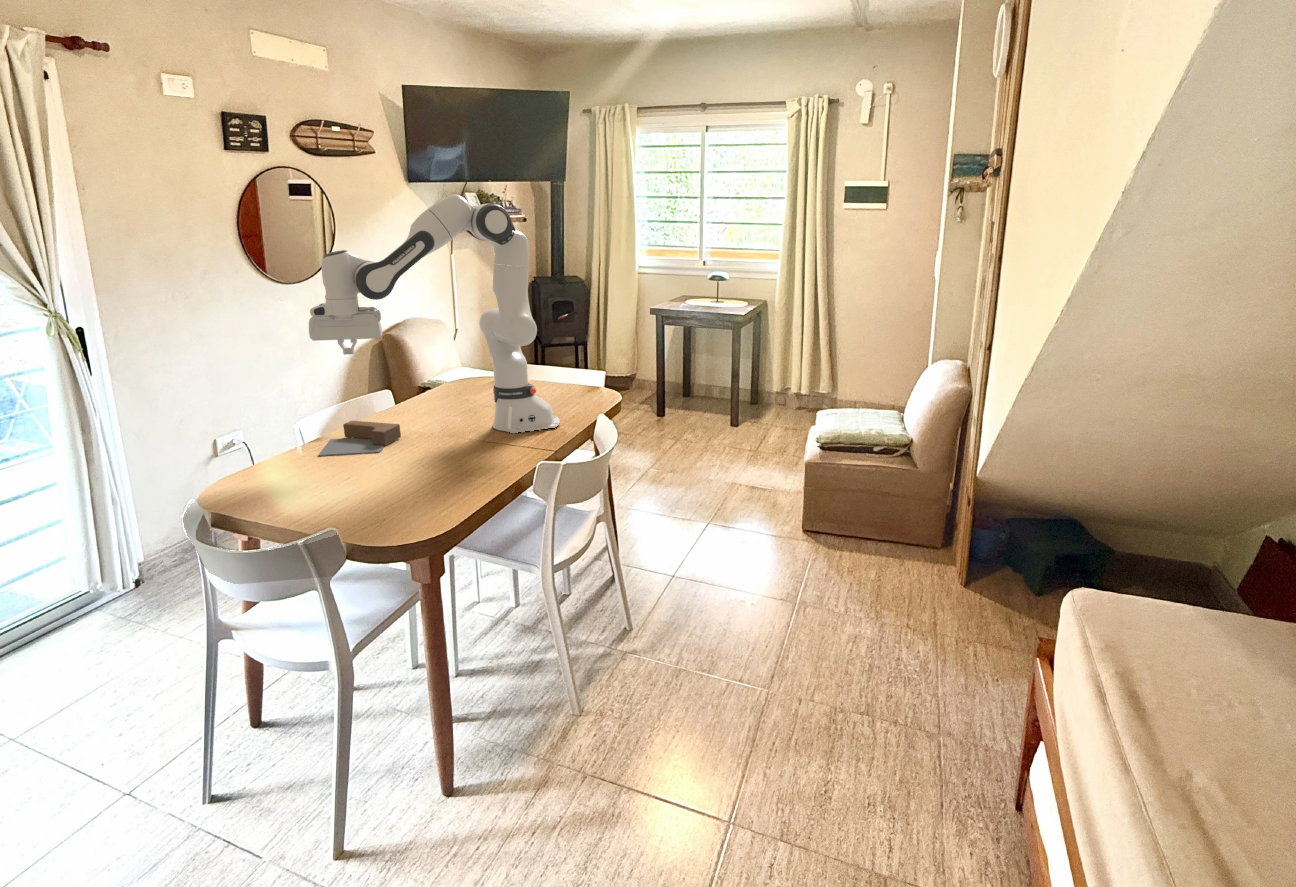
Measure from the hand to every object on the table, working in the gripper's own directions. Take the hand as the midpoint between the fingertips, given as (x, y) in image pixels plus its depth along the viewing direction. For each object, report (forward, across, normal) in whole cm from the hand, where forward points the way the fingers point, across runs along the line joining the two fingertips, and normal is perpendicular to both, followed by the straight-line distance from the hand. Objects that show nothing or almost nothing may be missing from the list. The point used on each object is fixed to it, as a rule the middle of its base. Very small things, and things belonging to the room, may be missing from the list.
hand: (349, 354), depth 222 cm
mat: (+29, +2, 0) cm, 29 cm away
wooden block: (+26, -10, -1) cm, 28 cm away
